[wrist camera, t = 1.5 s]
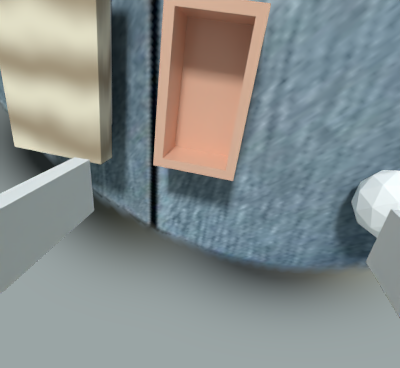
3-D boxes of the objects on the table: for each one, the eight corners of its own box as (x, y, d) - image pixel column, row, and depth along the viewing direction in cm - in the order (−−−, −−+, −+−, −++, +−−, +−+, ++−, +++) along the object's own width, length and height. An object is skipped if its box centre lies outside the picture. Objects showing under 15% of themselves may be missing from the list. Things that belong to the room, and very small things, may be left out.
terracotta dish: (181, 5, 27) (164, -10, 22) (267, 17, 26) (271, 3, 21) (169, 149, 34) (153, 164, 28) (236, 162, 33) (233, 181, 28)
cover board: (-1, -65, 24) (-27, -79, 22) (109, -53, 23) (93, -66, 21) (31, 141, 33) (14, 146, 30) (111, 157, 31) (101, 164, 29)
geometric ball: (367, 196, 34) (363, 252, 31) (345, 160, 30) (338, 220, 27) (445, 190, 29) (451, 258, 25) (431, 146, 25) (436, 219, 21)
